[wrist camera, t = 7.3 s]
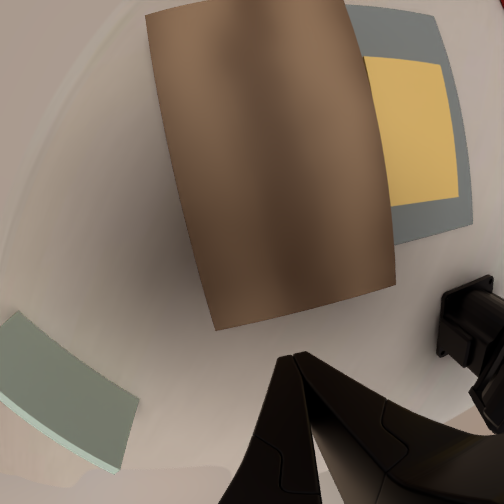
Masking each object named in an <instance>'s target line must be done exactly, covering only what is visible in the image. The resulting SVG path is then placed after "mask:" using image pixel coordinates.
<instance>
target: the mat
mask: <svg viewBox="0 0 504 504" xmlns="http://www.w3.org/2000/svg"><path fill="white" fill-rule="evenodd" d="M345 6H346V9H347V12H348V14H349V17H350V20H351V23H352V26H353V29H354V32H355V35H356V38H357V42H358V45H359V48H360V52H361V55H362V57H363V56H369V57H383V58H394V59H403V60H411V61H419V62H426V63H432V64H438V65H440V66H441V70H442V74H443V78H444V83H445V88H446V92H447V98H448V103H449V109H450V114H451V121H452V128H453V135H454V143H455V152H456V163H457V176H458V195H459V197H455V198H447V199H440V200H433V201H426V202H419V203H412V204H405V205H398V206H391V214H392V224H393V237H394V245H398V244H402V243H406V242H409V241H413V240H417V239H421V238H424V237H428V236H432V235H436V234H439V233H443V232H446V231H450V230H454V229H457V228H461V227H464V226H468V225H472V224H473V211H472V191H471V178H470V167H469V158H468V150H467V143H466V136H465V130H464V124H463V118H462V113H461V108H460V103H459V99H458V94H457V90H456V86H455V82H454V78H453V74H452V70H451V67H450V63H449V60H448V56H447V53H446V50H445V47H444V44H443V41H442V38H441V35H440V32H439V29H438V26H437V24H436V21H435V18H434V16H430V15H426V14H420V13H415V12H409V11H403V10H396V9H389V8H381V7H372V6H360V5H345Z"/></svg>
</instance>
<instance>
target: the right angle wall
mask: <svg viewBox="0 0 504 504" xmlns="http://www.w3.org/2000/svg"><path fill="white" fill-rule="evenodd" d="M0 401H1V402H2V403H4V404H5V405H6V406H7V407H8V408H10V409H11V410H12V411H13V412H15V413H16V414H17V415H18V416H20V417H21V418H22V419H24V420H25V421H26V422H28V423H29V424H30V425H32V426H33V427H35V428H36V429H37V430H39V431H40V432H42V433H43V434H45V435H46V436H48V437H49V438H51V439H52V440H54V441H55V442H57V443H58V444H60V445H61V446H63V447H65V448H66V449H68V450H70V451H71V452H73V453H75V454H76V455H78V456H80V457H81V458H83V459H85V460H87V461H89V462H90V463H92V464H94V465H96V466H98V467H100V468H102V469H104V470H106V471H108V472H109V473H112V474H114V475H115V474H116V473H117V472H118V471H119V470H120V468H121V464H122V460H123V456H124V453H125V449H126V445H127V441H128V437H129V434H130V430H131V427H132V423H133V419H134V416H135V412H136V409H137V405H138V402H139V398H137V397H136V396H134V395H132V394H130V393H129V392H127V391H126V390H124V389H122V388H121V387H119V386H117V385H116V384H114V383H113V382H111V381H110V380H108V379H107V378H105V377H104V376H102V375H101V374H99V373H98V372H96V371H95V370H93V369H92V368H90V367H89V366H87V365H86V364H85V363H83V362H82V361H80V360H79V359H78V358H76V357H75V356H73V355H72V354H71V353H69V352H68V351H67V350H65V349H64V348H63V347H61V346H60V345H59V344H58V343H56V342H55V341H54V340H53V339H51V338H50V337H49V336H48V335H46V334H45V333H44V332H43V331H41V330H40V329H39V328H38V327H37V326H35V325H34V324H33V323H32V322H31V321H30V320H28V319H27V318H26V317H25V316H24V315H23V314H22V313H21V312H19V311H18V312H16V313H15V314H14V315H13V316H12V317H11V318H10V319H8V320H7V321H6V322H5V323H4V324H3V325H2V326H0Z"/></svg>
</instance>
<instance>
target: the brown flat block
mask: <svg viewBox="0 0 504 504" xmlns="http://www.w3.org/2000/svg"><path fill="white" fill-rule="evenodd" d="M145 19H146V26H147V33H148V40H149V46H150V52H151V59H152V65H153V70H154V76H155V82H156V88H157V93H158V98H159V104H160V109H161V114H162V119H163V124H164V129H165V134H166V139H167V144H168V148H169V153H170V158H171V162H172V167H173V171H174V176H175V180H176V184H177V189H178V193H179V197H180V201H181V205H182V210H183V214H184V218H185V222H186V226H187V230H188V234H189V238H190V241H191V245H192V249H193V253H194V257H195V260H196V264H197V268H198V272H199V275H200V279H201V282H202V286H203V290H204V293H205V297H206V300H207V304H208V307H209V310H210V314H211V317H212V321H213V324H214V327H215V331H217V330H222V329H227V328H232V327H236V326H241V325H246V324H250V323H255V322H259V321H263V320H268V319H272V318H276V317H280V316H285V315H289V314H293V313H297V312H301V311H305V310H309V309H312V308H316V307H320V306H324V305H328V304H331V303H335V302H339V301H342V300H346V299H349V298H353V297H357V296H360V295H363V294H367V293H370V292H374V291H377V290H380V289H384V288H387V287H390V286H393V285H396V274H395V252H394V237H393V224H392V214H391V204H390V195H389V187H388V179H387V172H386V165H385V159H384V153H383V147H382V141H381V136H380V130H379V125H378V120H377V115H376V111H375V106H374V102H373V97H372V93H371V89H370V85H369V81H368V77H367V73H366V69H365V66H364V62H363V59H362V55H361V52H360V48H359V45H358V42H357V38H356V35H355V32H354V29H353V26H352V23H351V20H350V17H349V14H348V12H347V9H346V6H345V3H344V1H343V0H207V1H202V2H197V3H192V4H187V5H183V6H178V7H174V8H170V9H166V10H163V11H159V12H155V13H152V14H148V15H145Z"/></svg>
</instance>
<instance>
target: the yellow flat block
mask: <svg viewBox="0 0 504 504" xmlns="http://www.w3.org/2000/svg"><path fill="white" fill-rule="evenodd" d="M362 59H363V62H364V66H365V69H366V73H367V77H368V81H369V85H370V89H371V93H372V97H373V102H374V106H375V111H376V115H377V120H378V125H379V130H380V136H381V141H382V147H383V153H384V159H385V165H386V172H387V179H388V187H389V195H390V204H391V206H398V205H405V204H412V203H419V202H426V201H433V200H440V199H447V198H455V197H459V195H458V176H457V163H456V152H455V143H454V135H453V128H452V121H451V114H450V109H449V103H448V98H447V92H446V88H445V83H444V78H443V74H442V70H441V66H440V65H438V64H432V63H426V62H419V61H411V60H403V59H394V58H383V57H369V56H363V57H362Z"/></svg>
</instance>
